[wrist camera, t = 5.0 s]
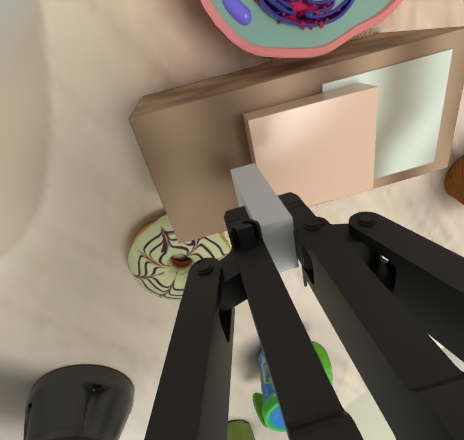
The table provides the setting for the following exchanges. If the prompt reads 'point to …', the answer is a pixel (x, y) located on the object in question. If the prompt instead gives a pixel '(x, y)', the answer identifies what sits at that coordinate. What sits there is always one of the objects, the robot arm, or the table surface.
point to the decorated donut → (169, 257)
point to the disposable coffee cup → (456, 180)
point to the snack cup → (268, 401)
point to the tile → (317, 143)
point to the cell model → (295, 23)
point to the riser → (289, 89)
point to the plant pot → (239, 431)
